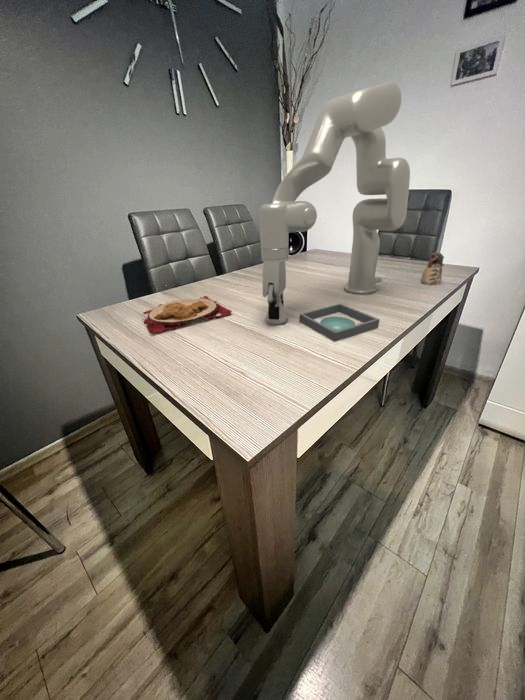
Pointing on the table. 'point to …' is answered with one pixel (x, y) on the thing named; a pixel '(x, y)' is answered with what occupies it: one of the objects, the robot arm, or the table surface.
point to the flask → (282, 314)
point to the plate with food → (182, 313)
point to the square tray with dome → (338, 322)
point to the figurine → (433, 270)
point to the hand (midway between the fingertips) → (276, 314)
